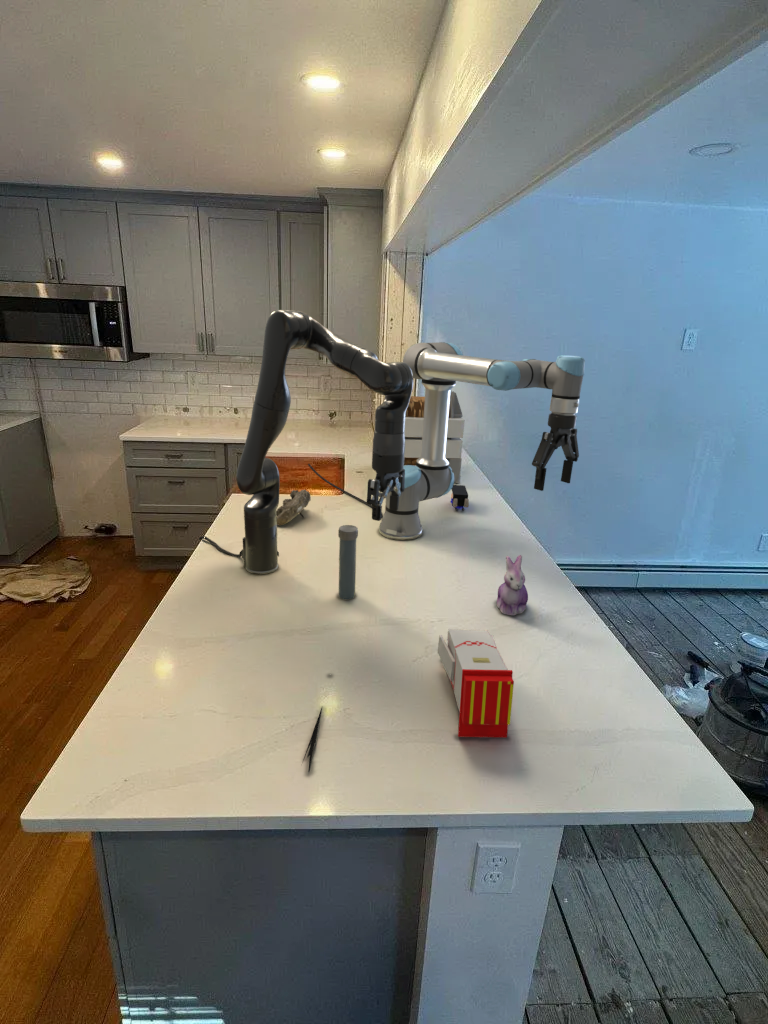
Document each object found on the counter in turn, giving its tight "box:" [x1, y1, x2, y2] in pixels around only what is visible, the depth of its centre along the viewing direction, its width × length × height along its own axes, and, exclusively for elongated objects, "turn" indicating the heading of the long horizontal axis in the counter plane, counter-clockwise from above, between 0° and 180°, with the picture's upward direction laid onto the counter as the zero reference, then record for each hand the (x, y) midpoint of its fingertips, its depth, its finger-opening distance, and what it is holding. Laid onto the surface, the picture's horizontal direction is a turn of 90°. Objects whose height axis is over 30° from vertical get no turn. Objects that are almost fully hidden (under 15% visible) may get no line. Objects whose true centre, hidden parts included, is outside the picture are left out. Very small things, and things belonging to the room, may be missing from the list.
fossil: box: [277, 489, 311, 526], centre depth 209 cm, size 22×10×15 cm
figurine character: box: [449, 484, 470, 512], centre depth 229 cm, size 7×8×15 cm
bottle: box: [338, 538, 358, 601], centre depth 152 cm, size 4×4×19 cm
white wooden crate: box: [404, 390, 465, 484], centre depth 268 cm, size 34×33×41 cm
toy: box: [437, 628, 515, 738], centre depth 117 cm, size 12×13×30 cm
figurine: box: [496, 554, 529, 616], centre depth 150 cm, size 9×10×15 cm
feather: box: [301, 673, 332, 771], centre depth 108 cm, size 2×28×2 cm
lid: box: [337, 524, 359, 540], centre depth 149 cm, size 5×5×2 cm
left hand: (385, 514), depth 138 cm, fingers open, 8 cm apart
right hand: (552, 485), depth 166 cm, fingers open, 13 cm apart
